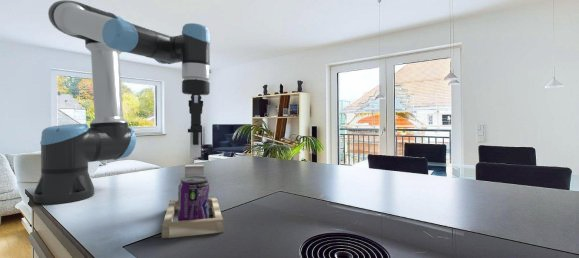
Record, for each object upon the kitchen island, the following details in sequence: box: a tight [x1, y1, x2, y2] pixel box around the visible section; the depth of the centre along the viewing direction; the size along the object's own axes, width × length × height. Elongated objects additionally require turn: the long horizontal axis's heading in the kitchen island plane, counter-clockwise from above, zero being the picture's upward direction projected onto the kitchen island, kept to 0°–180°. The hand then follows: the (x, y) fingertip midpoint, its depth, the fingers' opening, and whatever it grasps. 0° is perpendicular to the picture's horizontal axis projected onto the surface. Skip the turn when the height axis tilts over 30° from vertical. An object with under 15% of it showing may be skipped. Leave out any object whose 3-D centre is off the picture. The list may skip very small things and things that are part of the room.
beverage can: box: [177, 176, 210, 221], centre depth 67 cm, size 7×7×12 cm
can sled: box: [161, 164, 224, 239], centre depth 72 cm, size 21×13×12 cm, turn 19°
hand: (195, 154), depth 80 cm, fingers open, 13 cm apart
